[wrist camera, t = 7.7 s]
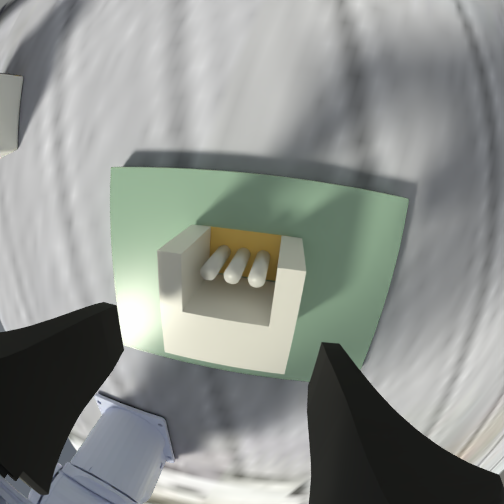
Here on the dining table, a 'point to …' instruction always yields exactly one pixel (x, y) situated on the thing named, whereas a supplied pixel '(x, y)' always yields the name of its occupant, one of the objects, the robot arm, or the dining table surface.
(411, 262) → the dining table surface
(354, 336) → the header board
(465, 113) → the dining table surface
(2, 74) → the medicine bottle
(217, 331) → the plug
